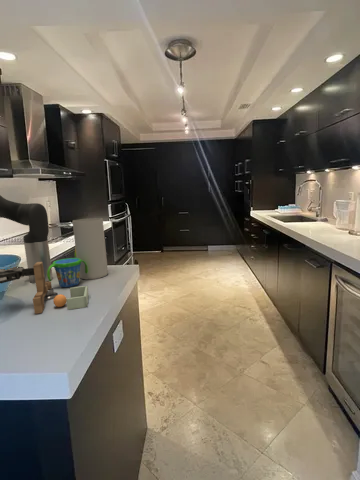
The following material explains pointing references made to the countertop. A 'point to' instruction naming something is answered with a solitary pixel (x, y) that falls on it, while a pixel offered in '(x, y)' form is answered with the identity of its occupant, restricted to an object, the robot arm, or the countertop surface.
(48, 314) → the countertop surface
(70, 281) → the snack cup
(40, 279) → the lever
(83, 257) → the cylinder vase
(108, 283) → the countertop surface
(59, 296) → the ball
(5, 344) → the countertop surface
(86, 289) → the sage green c-shaped clamp
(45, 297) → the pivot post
